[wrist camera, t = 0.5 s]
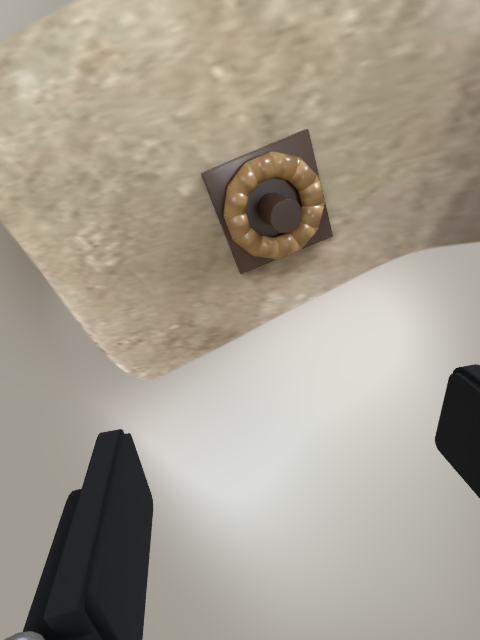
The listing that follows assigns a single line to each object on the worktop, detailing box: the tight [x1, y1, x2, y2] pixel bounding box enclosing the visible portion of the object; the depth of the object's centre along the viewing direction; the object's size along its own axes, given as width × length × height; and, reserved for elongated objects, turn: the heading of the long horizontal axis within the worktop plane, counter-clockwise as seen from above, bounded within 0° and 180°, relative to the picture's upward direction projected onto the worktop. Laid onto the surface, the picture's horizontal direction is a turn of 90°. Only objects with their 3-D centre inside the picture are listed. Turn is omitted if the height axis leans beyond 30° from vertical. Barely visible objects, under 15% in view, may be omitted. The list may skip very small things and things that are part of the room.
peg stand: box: [201, 129, 333, 274], centre depth 27 cm, size 9×9×5 cm
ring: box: [224, 152, 324, 259], centre depth 28 cm, size 8×8×2 cm
